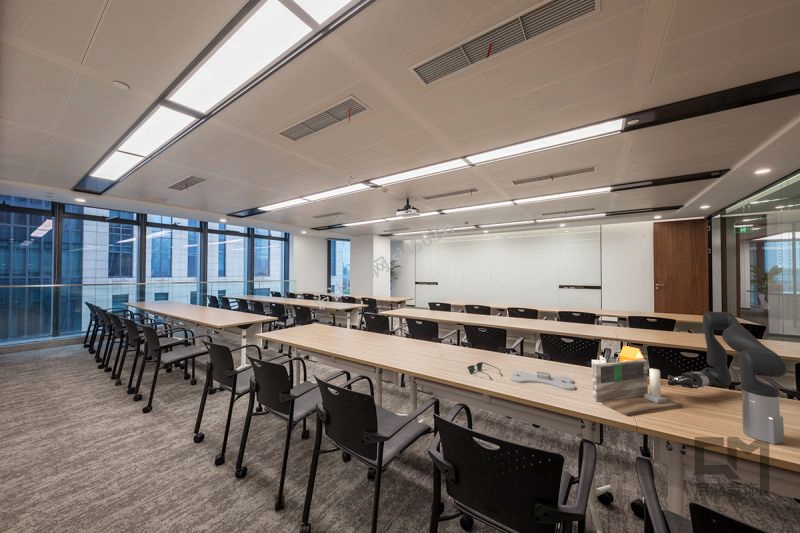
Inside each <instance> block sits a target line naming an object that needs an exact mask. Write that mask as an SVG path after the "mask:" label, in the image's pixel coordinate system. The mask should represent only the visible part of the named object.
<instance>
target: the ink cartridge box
mask: <svg viewBox="0 0 800 533" xmlns="http://www.w3.org/2000/svg"><path fill="white" fill-rule="evenodd" d="M601 363H607V358H605V357H603V356H602V355H599V359H591V365H592V364H601ZM591 378H592V380H593V369H592V368H591Z"/></svg>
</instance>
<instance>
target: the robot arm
mask: <svg viewBox="0 0 800 533" xmlns="http://www.w3.org/2000/svg"><path fill="white" fill-rule="evenodd" d="M702 326H703V332H704V339H705V344H706V362H707V365H709V366H710V367H704V368H703V369H702V370H700V371H689V372H682V373H681V374H680V375H678V376H677V375H676V376H672V375H671V374H667V385H668V386H670V387H675V386H677V387H681V388H688V389H695V390H696V389H699V388H704V387H708V386H713V385H714V384H716V385H718V386H721V387H729V386H730V385H731V383H732V381H733V380H732V375H731V373H730V369H729V367H728V353H727V350H726V349H725V347H724V346H723V345H722V344H721V343H720V342H719V340H718V339H717V338H716V336H715V334H714V331H723V332H722V334H721V337H722V340H723V341H724V342H725V344H726V345H727V346H728V347H729V348H730V349H731V350H733V351H735V352H737V353H739V354H738V364H739V365H738V366H739V373H740V374H739V376H740V384H741V403H742V404H741V407H742V408H741V412H742V414H741V415H742V432H743V434H744V435H746V436H748V437H750V438H752V439H755V440H758V441H760V442H764V443H770V444H772V445H777V444H782V443H784V442H785V433H784V432H785V431H784V428H785V427H784V416H782V415H780V411H781V410H780V409H781V408H780V391H779V388H777V387H776V386H774V385H772V384H768V383H765V382H763V381H761V380H759V379H757V376H763V377H770V378H780V377H783V376H784V375H786V374H787V370H788V369H787V364H786V363H785V361H784V359H782V357H781V356H780V355H779V354H778V353H776V352H775V351H773V350H772V349H770V348H769V347H767V346H765V345H764V344H763V343H761V341H759V340H758V339H757V338H756V336H754V335H753V334H752V333H751V332H750V331H748V330H747V329H746V328H745V327H744V326H743V325H742V324H741V323H740V321H739V320H738V319H737V318H736V317H735V315H734V314H732V313H731V312H726V311H705V312H704V313H703V315H702Z"/></svg>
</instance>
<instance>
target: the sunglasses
mask: <svg viewBox="0 0 800 533" xmlns="http://www.w3.org/2000/svg"><path fill="white" fill-rule="evenodd" d="M483 365H487V366H490V367H493V368H496V369H497V370H498V371H499V374H500V377H503V374H502V372H501V370H500V369H499V368H498V367H497V366H494V365H493V364H492V365H491V364H488V363H486V362H483V361H479V362H478V363H476V364H474V365H469V366H467V370H468V372H469V373H471V374H472V373H473V372H474V373H475V372H480V373H483V374H484V375H487V376H488V377H489V378H490V380H491V381H493V378H492V377H491V376H490V375H489V374H488V373H486V372H483V371H482V369H483ZM475 367H476V368H475Z"/></svg>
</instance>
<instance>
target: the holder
mask: <svg viewBox="0 0 800 533" xmlns="http://www.w3.org/2000/svg"><path fill="white" fill-rule="evenodd" d="M510 381H512V382H514V383H518V384H525V383H526V384H527V383H528V384H529V383H530V384H531V383H532V384H533V383H534V384H541V383H542V384H543V385H548V386H551V385H552V386H553V387H555V388H557V389H561V390H564V391H575V390H577V386H576V385H575V384H574V382H575V381H574V379H573V378H571V377H570V376H569V377H567V376H562V375H561V376H560V375H559V376H551V373H549V372H542V371H536V374H535V373H529V372H527V371H523V370H517V369H516V370H513V371H512V372H511V376H510Z"/></svg>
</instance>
